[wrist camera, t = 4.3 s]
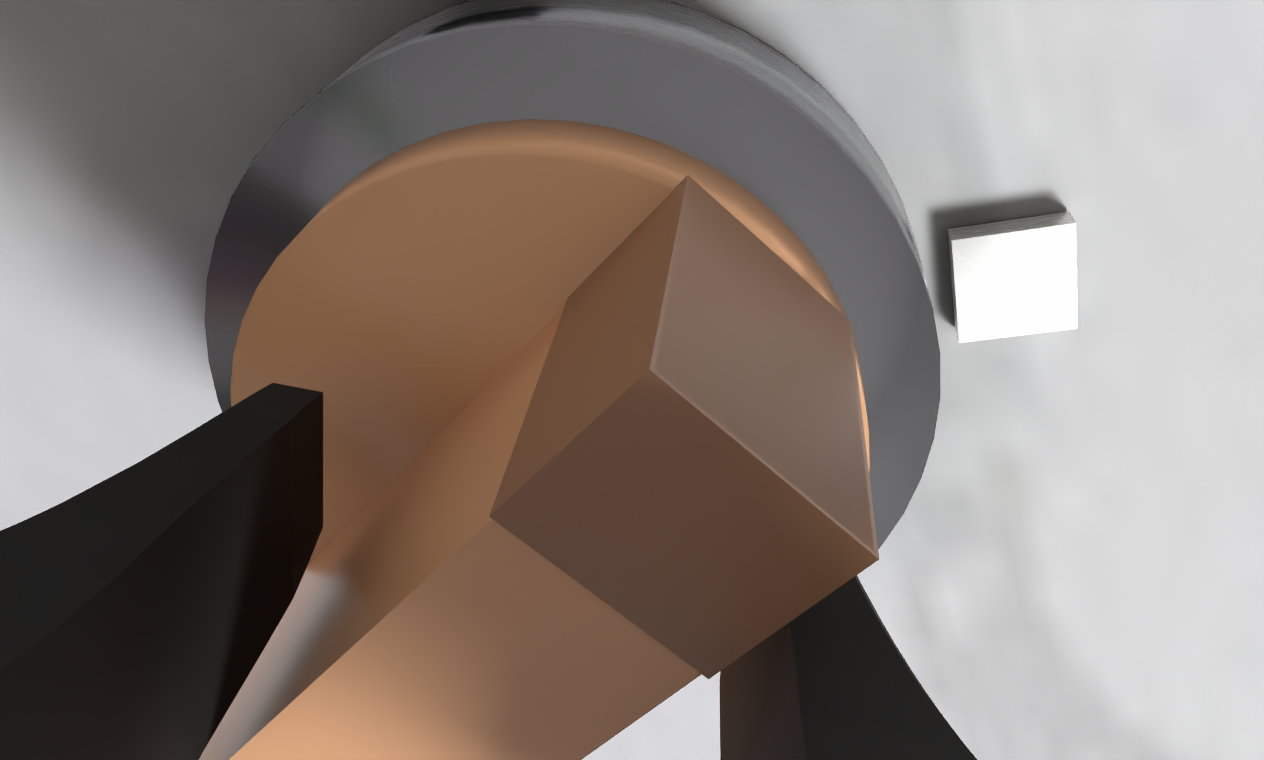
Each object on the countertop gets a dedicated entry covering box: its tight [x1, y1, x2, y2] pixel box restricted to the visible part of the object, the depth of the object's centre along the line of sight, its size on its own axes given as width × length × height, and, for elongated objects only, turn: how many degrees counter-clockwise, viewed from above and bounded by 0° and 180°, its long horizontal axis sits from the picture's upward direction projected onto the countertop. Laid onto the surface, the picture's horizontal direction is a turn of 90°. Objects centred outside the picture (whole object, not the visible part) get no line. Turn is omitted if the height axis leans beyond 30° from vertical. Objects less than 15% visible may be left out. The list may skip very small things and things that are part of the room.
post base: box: [205, 0, 1077, 549], centre depth 15 cm, size 12×12×2 cm
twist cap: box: [199, 119, 879, 760], centre depth 13 cm, size 8×8×5 cm
